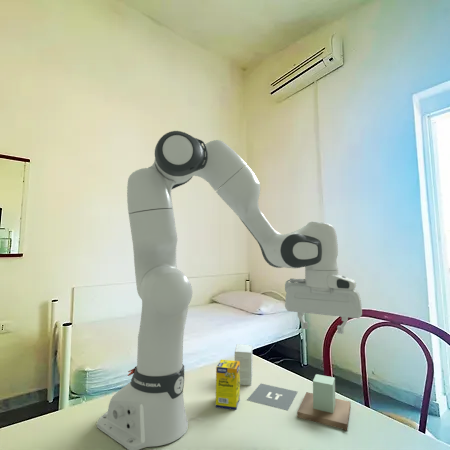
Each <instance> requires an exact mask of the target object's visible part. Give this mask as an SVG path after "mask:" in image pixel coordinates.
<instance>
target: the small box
mask: <svg viewBox="0 0 450 450" xmlns="http://www.w3.org/2000/svg"><path fill="white" fill-rule="evenodd" d="M234 361H240V386H252V380H253V344H241V343H237V344H236V347H235V349H234Z"/></svg>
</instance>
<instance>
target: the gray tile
mask: <svg viewBox="0 0 450 450" xmlns="http://www.w3.org/2000/svg"><path fill="white" fill-rule="evenodd" d="M298 392H299V391H296V390H292V389H287V388H283V387H278V386H274V385H270V384H266V383H265V384H264V383H259V385H258V386H257V387H256V388H255V390H254V391H253V392H252V393H251V394H250V395H249V397H248V398H247V399H246V401H250V402H251V403H257V404H260V405H264V406H268V407H272V408H277V409H279V410H283V411H284V410H285V411H289V409H290V407H291V406H292V404H293V402H294V400H295V398H296V397H297V394H298Z"/></svg>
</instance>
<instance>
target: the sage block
mask: <svg viewBox="0 0 450 450" xmlns="http://www.w3.org/2000/svg"><path fill="white" fill-rule="evenodd" d="M312 393H313V409H317V410H321V411H326V412H330V413H333V412H334V408H335V398H336V377H333V376H327V375H322V374H317V373H316V374H315V375H314V378H313V379H312Z"/></svg>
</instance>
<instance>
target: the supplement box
mask: <svg viewBox="0 0 450 450" xmlns="http://www.w3.org/2000/svg"><path fill="white" fill-rule="evenodd" d="M215 369H216V371H215V408H219V409H225V410H226V409H227V410H235V411H236V410H237V409H238V408H237V407H238V405H239V402H240V396H241V395H240V394H241V393H240V391H241V390H240V388H241V387H240V386H241V385H240V361H235V360H228V359H220V360H219V362H218V364H217V365H216V367H215Z"/></svg>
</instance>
